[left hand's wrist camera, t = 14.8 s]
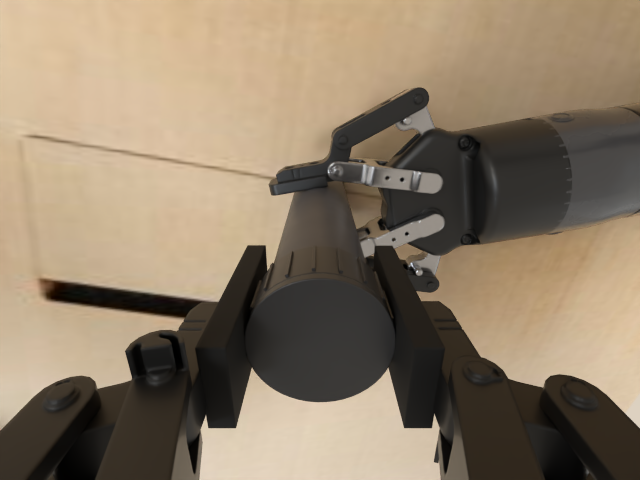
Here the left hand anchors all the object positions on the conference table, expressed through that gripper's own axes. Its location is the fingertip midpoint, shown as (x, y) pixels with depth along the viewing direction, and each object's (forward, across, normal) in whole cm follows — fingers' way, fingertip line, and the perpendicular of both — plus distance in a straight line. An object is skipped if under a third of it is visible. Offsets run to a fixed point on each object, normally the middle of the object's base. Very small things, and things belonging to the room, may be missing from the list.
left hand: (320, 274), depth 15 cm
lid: (-4, 0, 0) cm, 4 cm away
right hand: (+9, -3, 0) cm, 9 cm away
